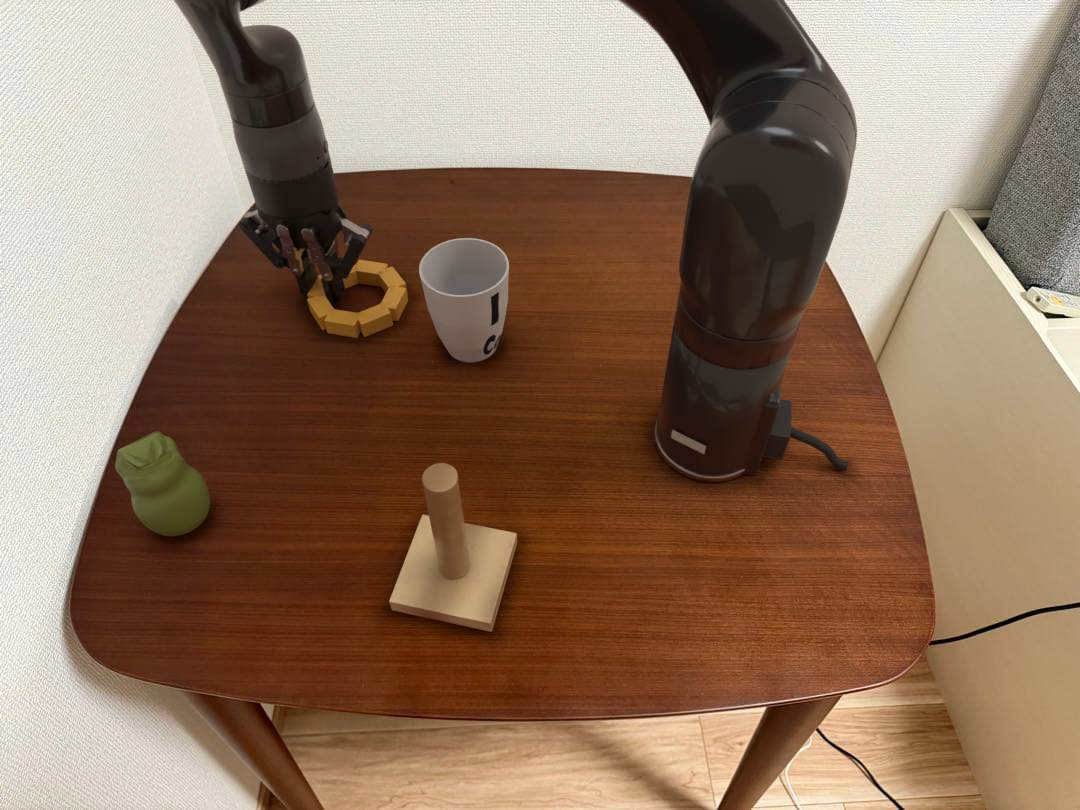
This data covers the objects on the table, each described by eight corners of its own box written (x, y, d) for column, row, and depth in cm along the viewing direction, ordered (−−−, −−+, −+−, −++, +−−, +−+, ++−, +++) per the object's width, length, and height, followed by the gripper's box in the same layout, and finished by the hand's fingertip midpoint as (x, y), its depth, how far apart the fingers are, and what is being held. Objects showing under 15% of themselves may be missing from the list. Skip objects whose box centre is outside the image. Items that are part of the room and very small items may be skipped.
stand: (517, 542, 67) (512, 441, 57) (491, 632, 62) (481, 539, 51) (424, 523, 68) (402, 421, 58) (391, 610, 63) (361, 515, 53)
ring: (418, 281, 88) (416, 267, 86) (387, 343, 82) (384, 330, 80) (334, 268, 89) (330, 255, 88) (298, 328, 83) (293, 315, 82)
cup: (501, 379, 78) (497, 302, 71) (420, 367, 79) (407, 289, 72) (520, 321, 84) (517, 243, 76) (443, 310, 85) (433, 233, 77)
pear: (163, 560, 66) (114, 489, 58) (141, 515, 69) (90, 442, 61) (229, 524, 68) (189, 452, 60) (204, 482, 71) (163, 408, 63)
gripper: (193, 166, 71) (248, 312, 85) (341, 187, 69) (374, 333, 83) (233, 121, 76) (279, 266, 89) (372, 139, 74) (399, 284, 87)
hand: (324, 298), depth 86 cm, fingers closed on ring, 2 cm apart
